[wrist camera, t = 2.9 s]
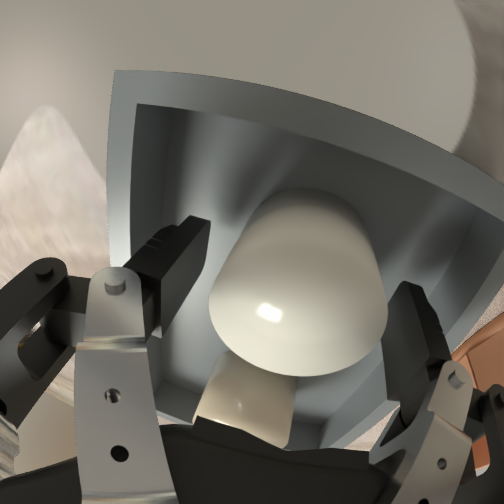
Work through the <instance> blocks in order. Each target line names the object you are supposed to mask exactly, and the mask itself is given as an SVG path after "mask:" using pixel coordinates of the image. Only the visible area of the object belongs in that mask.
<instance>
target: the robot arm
mask: <svg viewBox="0 0 504 504" xmlns="http://www.w3.org/2000/svg"><path fill="white" fill-rule="evenodd" d="M210 229H211V221H210V220H207V219H203V218H200V217H196V216H193V215H189V216H188V217H187V218H186V219H185V220H184V221H183V222H182V223H181V224H180V225H179V226H177V225H173V224H171V225H169V226H166V227H164V228H162V229H160V230H159V231H158V232H156V233H155V234H154V235H153V236H152V238H150V239H149V240H148V241H147V242H146V243H145V245H143V246H142V247H141V248H140V249H139V250H138V251H137V252H136V253H135V254H134V255H133V256H132V257H131V258H130V259H129V260H128V261H127V262H126V263H125V264H124V265H123V266H122V267H108V268H105V269H102V270H100V271H98V272H97V273H96V274H95V275H94V276H93V277H92V278H83V277H76V276H69V275H68V272H67V268H66V265H65V263H64V262H63V261H61V260H60V259H57V258H52V257H49V258H42V259H39V260H37V261H35V262H33V263H32V264H30V265H29V266H28V267H26V268H25V269H24V270H23V271H22V272H20V273H19V274H18V275H17V276H16V277H14V278H13V279H12V280H11V281H10V282H8V283H7V284H6V285H5V286H4V287H3V288H2V289H0V504H504V387H503V386H501V385H499V384H493V385H492V386H491V387H490V388H489V389H488V390H486V391H485V392H482V391H480V390H478V389H476V388H474V387H473V381H472V378H471V376H470V374H469V372H468V371H467V369H466V368H465V367H464V366H463V365H461V364H460V363H458V362H456V361H453V360H452V357H451V354H450V351H449V347H448V344H447V341H446V338H445V335H444V334H443V330H442V327H441V325H440V321H439V318H438V316H437V313H436V311H435V310H434V309H433V307H432V306H431V305H430V303H429V302H428V300H427V297H426V295H425V292H424V290H423V288H422V286H420V285H417V284H414V283H411V282H408V281H402V282H401V283H400V284H399V286H398V287H397V289H396V291H395V292H394V294H393V296H392V297H391V299H390V300H389V302H388V304H387V307H388V318H387V324H386V328H385V330H384V333H383V335H382V337H381V346H382V353H383V361H384V370H385V380H386V390H387V400H389V401H397V402H400V407H399V408H397V409H396V410H395V411H394V413H393V415H392V416H391V418H390V420H389V422H388V423H387V425H386V427H385V428H384V430H383V432H382V433H381V435H380V437H379V438H378V440H377V441H376V443H375V445H374V446H373V448H372V449H371V450H370V452H369V451H358V450H348V449H339V448H323V449H311V450H297V451H287V450H283V449H281V448H279V447H276V446H274V445H272V444H270V443H268V442H266V441H264V440H262V439H260V438H258V437H256V436H254V435H252V434H250V433H248V432H246V431H244V430H243V429H239V428H236V427H232V426H229V425H226V424H222V423H219V422H216V421H213V420H210V419H207V418H204V417H201V416H198V415H197V417H196V419H195V422H194V424H193V425H187V424H168V425H159V423H158V418H157V413H156V408H155V402H154V396H153V390H152V384H151V378H150V371H149V363H148V356H147V348H146V342H147V340H148V339H149V337H150V336H151V335H154V336H156V337H159V338H161V339H162V337H163V336H164V334H165V332H166V331H167V329H168V327H169V325H170V324H171V322H172V320H173V319H174V317H175V315H176V314H177V312H178V310H179V309H180V307H181V306H182V304H183V302H184V301H185V299H186V297H187V296H188V294H189V292H190V291H191V289H192V288H193V286H194V284H195V283H196V281H197V279H198V278H199V276H200V274H201V273H202V270H203V268H204V265H205V261H206V255H207V249H208V242H209V235H210ZM38 322H40V324H41V326H40V327H39V328H38V329H37V330H36V331H35V332H34V333H33V335H32V336H31V337H30V338H29V339H28V340H27V341H26V342H25V343H24V344H23V345H22V347H21V348H20V349H19V350H18V351H17V348H18V345H19V343H20V341H21V340H22V338H23V337H24V336H25V335H26V334H27V333H28V332H29V331H30V330H31V329H32V328H33V327H34V326H35V325H36V324H37V323H38ZM74 353H75V370H74V418H75V419H74V420H75V437H76V451H77V456H76V457H74V458H71V459H68V460H65V461H62V462H59V463H56V464H53V465H50V466H47V467H44V468H40V469H37V470H34V471H30V472H26V473H22V474H18V475H15V472H14V465H13V464H14V457H16V456H17V455H18V454H19V452H20V447H19V437H18V433H17V429H18V427H19V426H20V424H21V422H22V421H23V420H24V419H25V417H26V416H27V414H28V413H29V411H30V410H31V409H32V407H33V406H34V404H35V403H36V402H37V401H38V399H39V398H40V397H41V395H42V394H43V393H44V391H45V390H46V389H47V387H48V386H49V385H50V383H51V382H52V381H53V380H54V378H55V377H56V376H57V374H58V373H59V372H60V371H61V369H62V368H63V367H64V366H65V364H66V363H67V362H68V361H69V359H70V358H71V357H72V356H73V354H74ZM484 435H486V440H487V445H488V450H489V456H490V464H489V467H488V469H487V470H486V472H484V473H483V474H481V475H480V476H478V477H477V476H476V471H475V463H474V456H473V450H472V444H473V443H474V442H476V441H477V440H479V439H480V438H482V437H483V436H484Z"/></svg>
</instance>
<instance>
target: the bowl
mask: <svg viewBox="0 0 504 504" xmlns="http://www.w3.org/2000/svg"><path fill="white" fill-rule="evenodd" d="M451 357H452V360H453V361H456V362H458V363H460V364H461V365H463V366H464V367H465V368H466V369H467V371H468V372H469V374H470V376H471V378H472V381H473V387H474V388H476V389H478V390H480V391H482V392H485V391H486V390H488V389H489V388H490V387H491V386H492V385H493V384H499V385H501V386H503V387H504V313H502V314H501V315H499V316H498V317H496V318H495V319H493V320H492V321H491V322H490V323H488V324H487V325H486V326H484V327H483V328H482V329H480V330H479V331H478V332H477V333H476V334H474V335H473V336H472V337H471V338H470V339H468V340H467V341H466V342H465V343H464V344H462V345H461V346H460V347H459V348H458V349H457V350H456V351H455V352H454V353H452V354H451ZM472 450H473V456H474V463H475V471H476V470H479V469H482V468H484V467H487V466H489V464H490V456H489V450H488V445H487V440H486V435H484V436H483V437H482V438H480V439H479V440H477V441H476V442H474V443H473V444H472Z"/></svg>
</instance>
